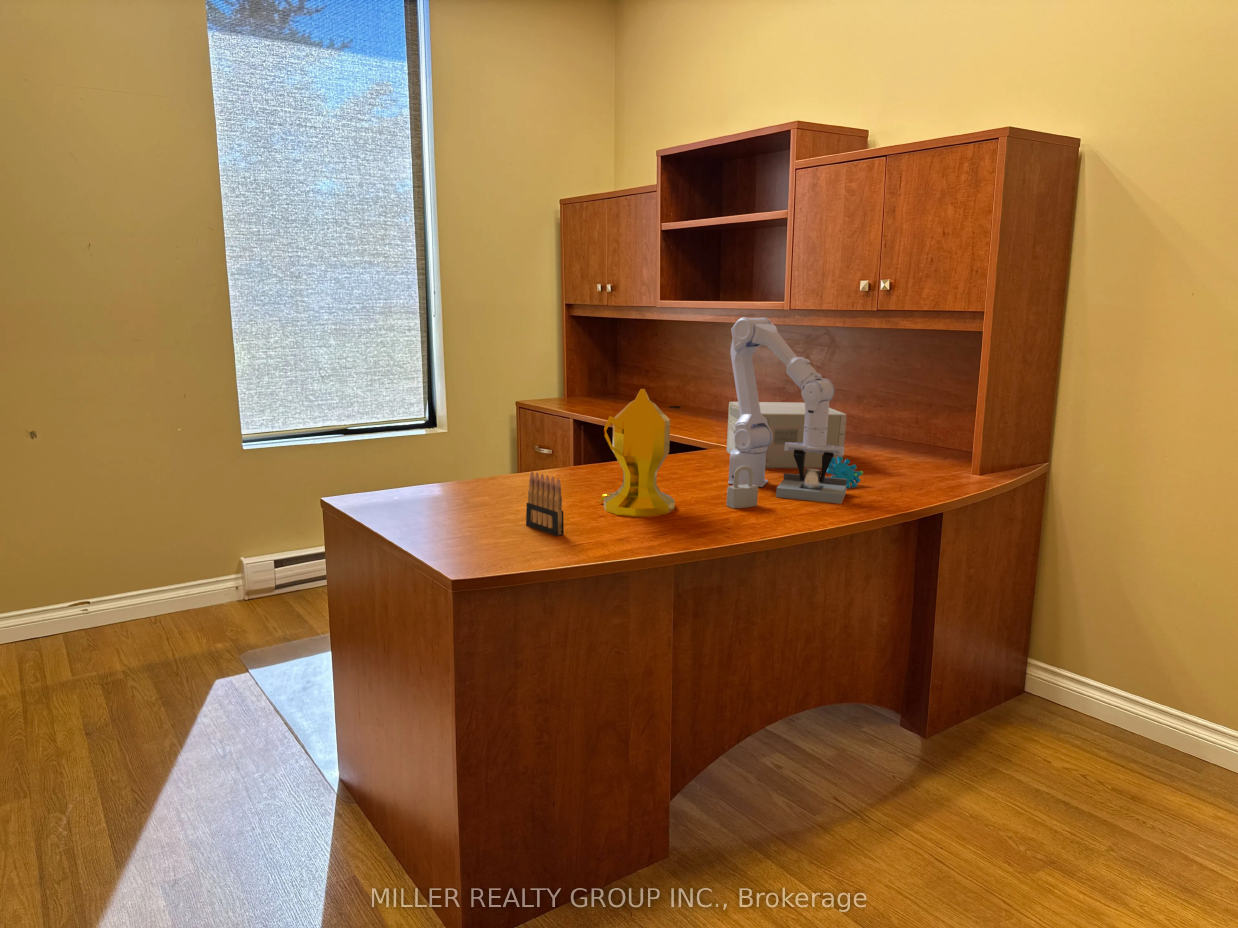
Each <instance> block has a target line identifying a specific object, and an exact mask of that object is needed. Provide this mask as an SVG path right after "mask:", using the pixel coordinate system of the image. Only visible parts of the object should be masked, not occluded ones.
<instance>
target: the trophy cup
mask: <svg viewBox="0 0 1238 928" xmlns="http://www.w3.org/2000/svg"><path fill="white" fill-rule="evenodd" d="M610 425H612V442H611V439H610V436H609V435H608V433H607V430H608V428H609V426H610ZM670 435H671V419H670V418H669V417H668V416H667V415H666V414H665V413H664V411H663V410H661V409H660V408H659V406H658V405H657V404H656V403H655V402H653V401H652V400H650V398H649V395H648V393H647V391H646V389H645V388H640V390H639V391H638V393H637V394H636V397H635V399H633V400H631V401H630V402H628V404H626V406H625V407H624V408H623V409H621V410H620V411H619V412H618V413H617V414H616V415H615V416H614V417H613V416H611V415H609V416H608V419H607V421H606V423H605V425H604V428H603V436H604V438H605V440H606V442H607V444H608V446H609V448H610V450H611V451H612V452H613V455H614V457H615V458H616V460H617V462H618V463H619V466H620V468H621V469H622V472H623V475H622V477H623V478H622V484H621V485H620V487H619V488H618V489H617V490H616V491H614V492H613V491H610V492H607V493H604V494H601V496H600V497H601V498H600V500H598V501H597V502H598V503H599V502H600V503H601V502H603V508H604V511H605V512H607V513H610V514H612V515H616V516H621V517H631V518H646V517H647V518H648V517H649V518H650V517H657V516H662V515H667V514H670V513H671V512H672V511H674V510H675V505H676V503H675V499H674V498H673V497H672V496H671V495H669V494H667V493H665V492H662V491H661V490H660V488H659V487H658V485H657V478H658V477H657V476H658V471H659V470H660V469H661V466H662V465H663V463H664V461H665V460H666V458H667V457H668V455H669V453H670V440H671V437H670Z"/></svg>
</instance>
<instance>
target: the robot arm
mask: <svg viewBox="0 0 1238 928" xmlns="http://www.w3.org/2000/svg"><path fill="white" fill-rule="evenodd" d="M730 330H731V337H732V340H731V344H730V352H729V354H730V359H731V366H732V372H733V379H734V384H735V391H736V397H737V402H738V405H739V412H740V418H739V419H738V421H737V422H736V424H735V435H734V442H735V445H736V447H737V448H738V450H732V451H731V454H729V462H728V463H729V465H728V482H727V484H729V485H733V483H734V473H735V470H736V469H737V468H738V467H740V466H744V465H746V466H749V467H751V469H752V471H753V483H752V485H755V486H758V488H763V487H764V486H765V485H766V484H767V483H768V482H769V480H768V479H766V468H765V465H766V451H767V448H768V446H769V445H770V444H771V442H772V439H773V435H772V431H771V429H770V428H769V426H768V422H767V419H766V418H765V417H764V416H763V415H762V414H761V411H760V405H759V402H760V401H759V400H760V398H759V394H758V387H757V379H756V373H755V367H754V361H753V360H754V359H753V355H754V354H755V352H756V350H757V349H758V348H760V346H765V347H766V346H767V348H768V349H769V350H771V352H772V353H773V354H774V355H775V356H776V357H777V358H778V359H779V360H780V361H781V362H782V363H783V364H784V365H785V366H786V369H785V372H786V374H787V375H788V376H789V378H791V380H792V381H793V382H794V383H795V385H796V386H797V387H798V388H799V390H801V398H802V400H803V402H804V403H805V421H804V435H803V443H791V442H786V443H785V450H784V451H794V454H793V456H794V458H795V461H796V463H797V466H798V468H797V469H798V474H799V475H800V480H801V481H803V479H804V473H805V468H804V462H805V453H806V452H812V453H824V454H823V456H822V468H821V478H820V482H822V483H823V482H824V478H825V477H826V474H827V469H828V466H829V464H830V462H831V460H832V458H833V456H834V454H836V455H841V456H843V457H844V455H845V446H844V447H840V446H833V445H826V440H827V427H828V413H829V408H830V401H832V400H833V398H834V396H835V390H836V389H835V386H834V384H833V383H832V381H831V379H829V378H823V377H822V376H823V375H822V374H821V373H820V372H819V373H818V372H817V371H816V370H815V368H814V367H813V366H812V365H811V361H810V360H809V359H808V358H805V357H804V356H797V355H796V353H795V352H794V351H793V350H792V348H791V347H790V346H789V345H788V344H787V342H786V340H785V339H784V338H783V337H782V335H781V334H780V332H779V331H778V329H777V326H776V325H775V324H774V323H772V321H771V320H770V319H769V317H768V318H767V317H764V316H763V317H745V316H744V317H741V318H738V319H737V320H736V322H735V323H734V324H733V325H732V327H731V329H730ZM751 425H752V426H753V427H751ZM806 449H808V450H806ZM816 450H821V451H816ZM742 484H743V485H744V484H748V471H747V470H742V471H740V473H739V478H738V485H742Z"/></svg>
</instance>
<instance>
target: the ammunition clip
mask: <svg viewBox="0 0 1238 928" xmlns="http://www.w3.org/2000/svg"><path fill="white" fill-rule="evenodd" d="M528 482H529V483H528V490H527V494H528V495H527V502H526V508H525V509H526V510H525V511H526V512H525V514H526V516H525V517H526V518H525V521H526V522H525V526H527V527H529V528H533V529H535V530H538V531H540V532H543V533H546V534H549V535H552V536H555V537H559V536H563V535H564V534H565V532H564V529H565V526H564V523H565V521H564V519H565V518H564V510H563V498H562V485H561V480H560V478H557V479H556V481H555V477H554V476H552V477H551V479H550V476H549V475H547V474H546V477H545V475H544V474H543V473H541V475H539V472H536V473H534V471H533V470H531V471H530V474H529V481H528Z"/></svg>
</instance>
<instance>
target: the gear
mask: <svg viewBox="0 0 1238 928" xmlns="http://www.w3.org/2000/svg"><path fill="white" fill-rule="evenodd" d="M842 459H843V463H841V460H842ZM835 461H836V458H832V460H831V462H832V463H833V465H834V466H833V465H832V463H831V462H830V464H829V466H828V467H830V468H828V469H827V471H826V474H831V476H830V477H832V478H842V479H847V484H846V490H849V489H850V488H856V487H858V484H859V483H860V482H861V480H862V479H861V478H859V477H861V476H863V474H864V471H863V470H860V471H857V470H856V469H857V465H856V464H855V463H854V464H852V465H849V464H850V463H851V461H850V459H849V458H846V459H845V460H844V457H843V458H842V457H840V456H838V458H837V461H838V463H836V462H835Z"/></svg>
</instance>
